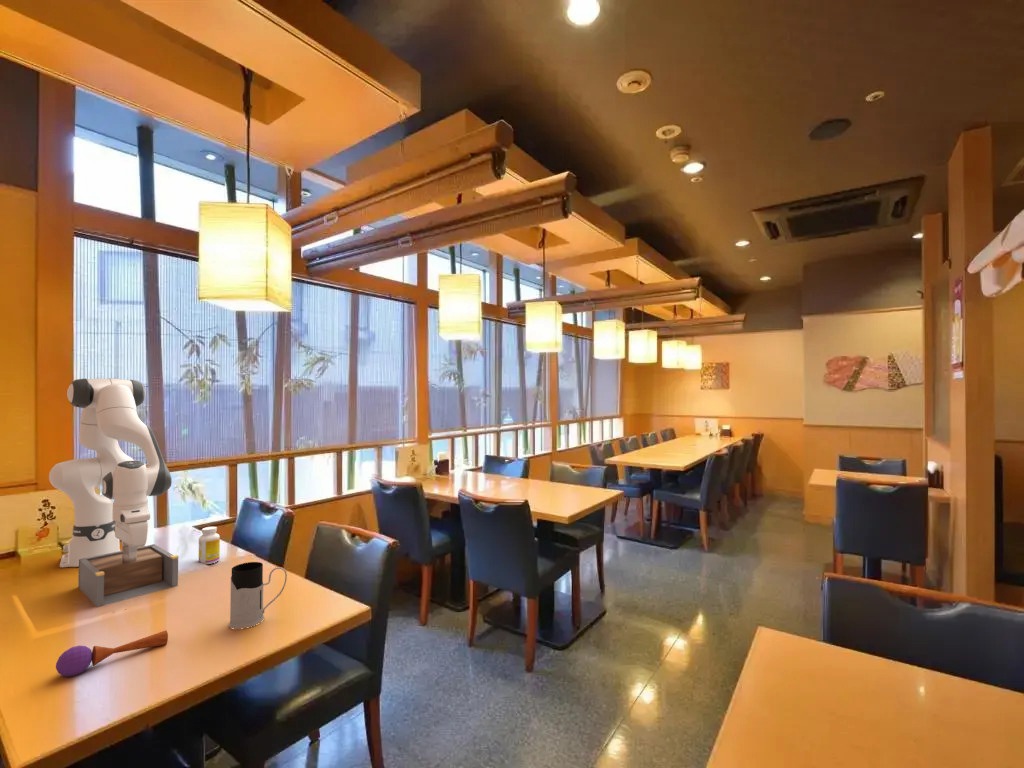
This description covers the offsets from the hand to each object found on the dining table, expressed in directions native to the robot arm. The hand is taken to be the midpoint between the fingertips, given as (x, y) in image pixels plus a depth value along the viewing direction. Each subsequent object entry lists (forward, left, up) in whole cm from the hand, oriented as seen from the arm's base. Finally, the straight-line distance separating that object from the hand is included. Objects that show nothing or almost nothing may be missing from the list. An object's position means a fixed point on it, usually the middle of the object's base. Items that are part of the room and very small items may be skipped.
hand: (129, 555), depth 152 cm
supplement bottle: (-9, +26, -11) cm, 30 cm away
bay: (-1, 0, -11) cm, 11 cm away
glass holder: (+54, +16, -11) cm, 58 cm away
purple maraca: (+48, -14, -12) cm, 51 cm away
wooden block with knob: (-4, 0, -10) cm, 11 cm away
